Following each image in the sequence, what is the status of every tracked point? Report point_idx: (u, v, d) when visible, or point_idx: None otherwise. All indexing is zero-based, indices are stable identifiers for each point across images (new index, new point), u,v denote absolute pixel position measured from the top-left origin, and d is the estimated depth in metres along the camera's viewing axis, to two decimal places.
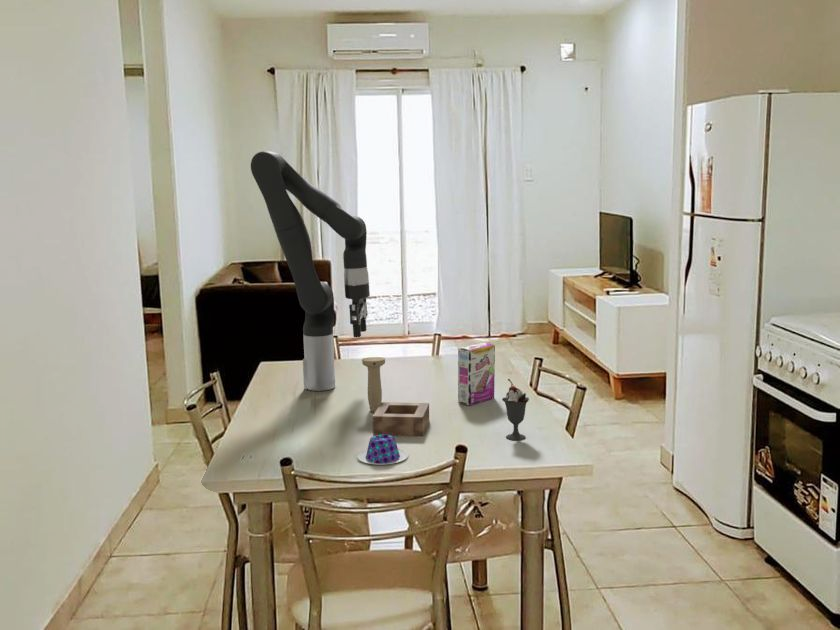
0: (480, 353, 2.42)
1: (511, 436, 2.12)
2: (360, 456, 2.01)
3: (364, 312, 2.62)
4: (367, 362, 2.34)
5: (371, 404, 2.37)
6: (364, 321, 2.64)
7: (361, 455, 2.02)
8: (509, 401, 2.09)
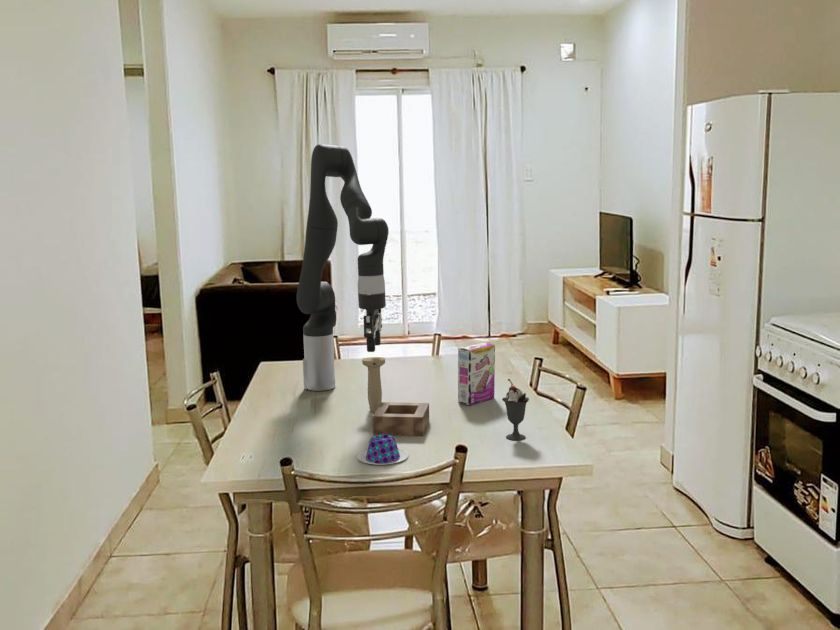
0: (480, 353, 2.42)
1: (511, 436, 2.12)
2: (360, 456, 2.01)
3: (379, 324, 2.37)
4: (367, 362, 2.34)
5: (371, 404, 2.37)
6: (378, 334, 2.39)
7: (361, 455, 2.02)
8: (509, 401, 2.09)
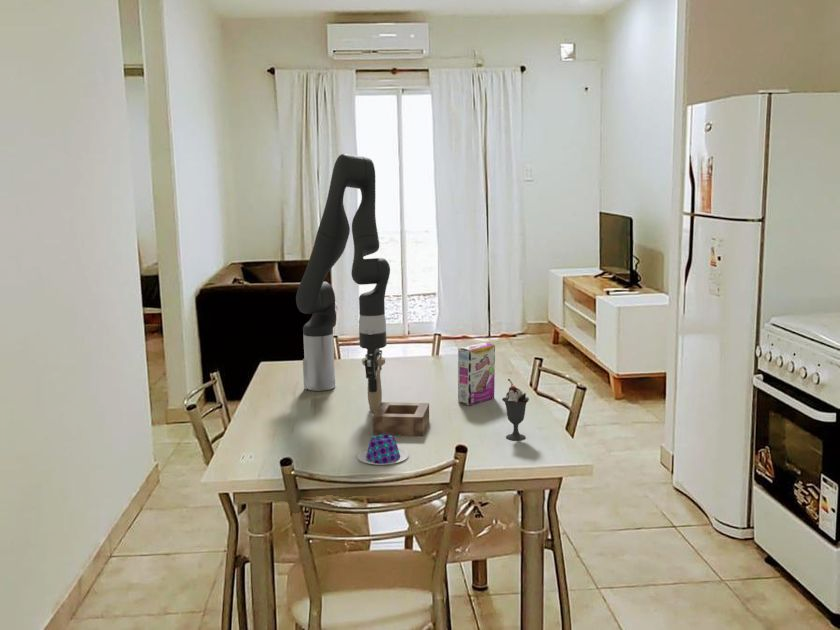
0: (480, 353, 2.42)
1: (511, 436, 2.12)
2: (360, 456, 2.01)
3: None
4: None
5: (371, 404, 2.37)
6: None
7: (362, 454, 2.02)
8: (509, 401, 2.09)
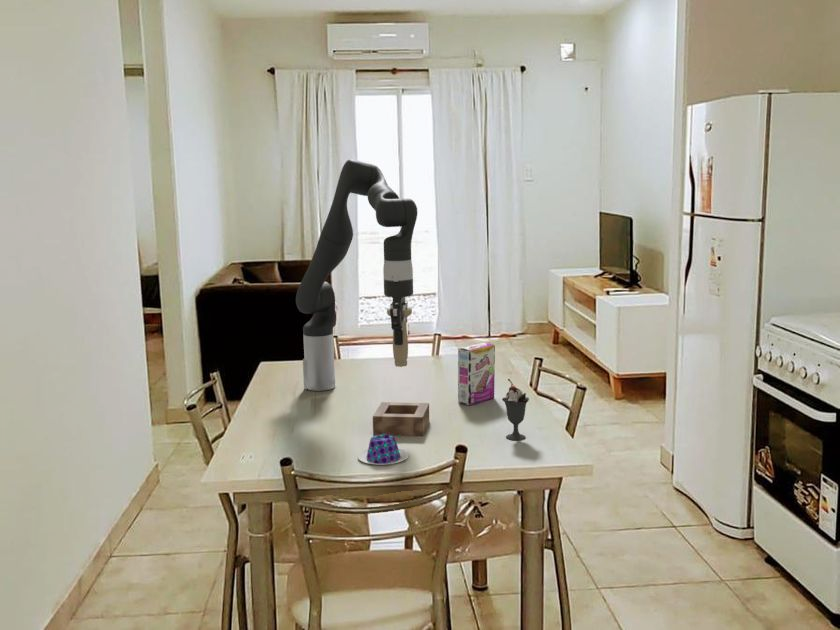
0: (480, 353, 2.42)
1: (511, 436, 2.12)
2: (361, 455, 2.01)
3: None
4: None
5: (397, 358, 2.18)
6: None
7: (362, 454, 2.02)
8: (509, 401, 2.09)
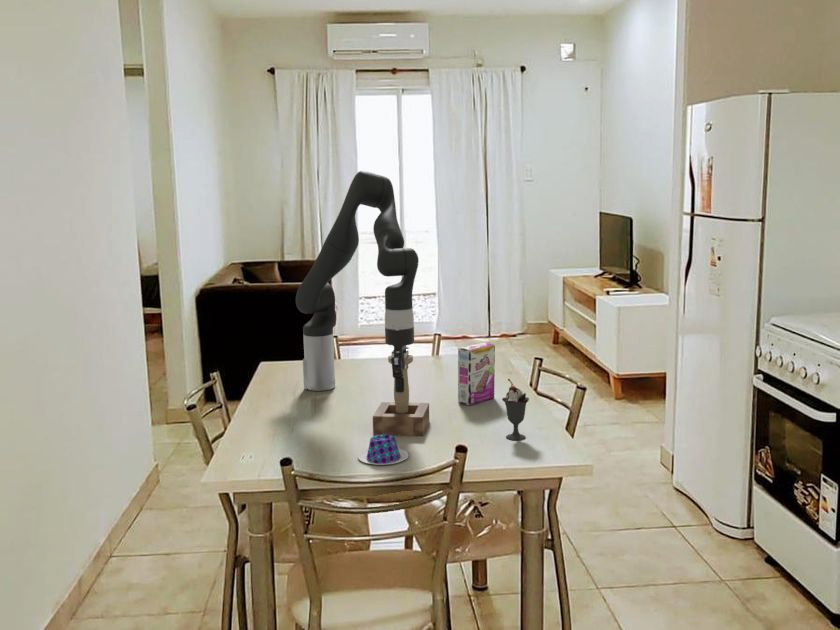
0: (480, 353, 2.42)
1: (511, 436, 2.12)
2: (361, 455, 2.02)
3: None
4: None
5: (398, 405, 2.20)
6: None
7: (363, 454, 2.02)
8: (509, 401, 2.09)
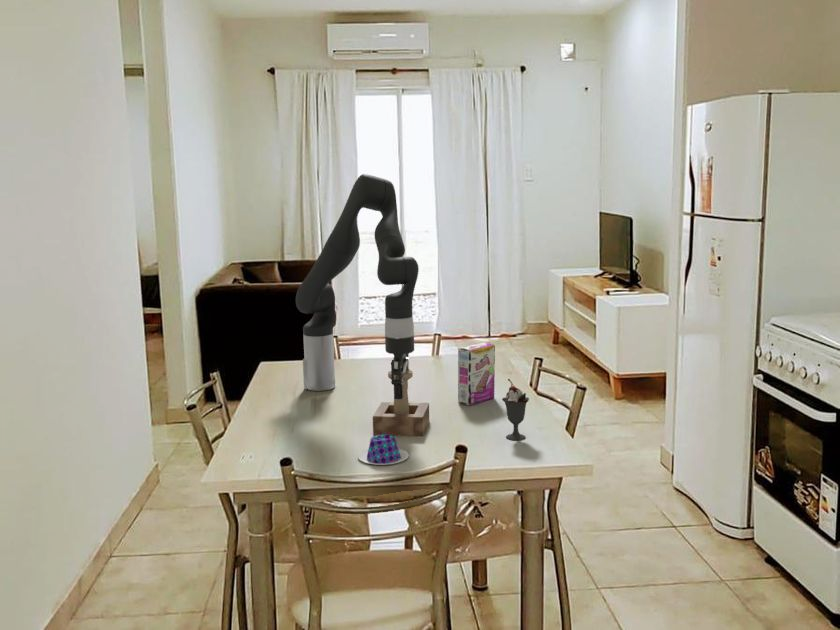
0: (480, 353, 2.42)
1: (511, 436, 2.12)
2: (361, 455, 2.02)
3: (406, 368, 2.23)
4: None
5: None
6: None
7: (363, 454, 2.03)
8: (509, 401, 2.09)
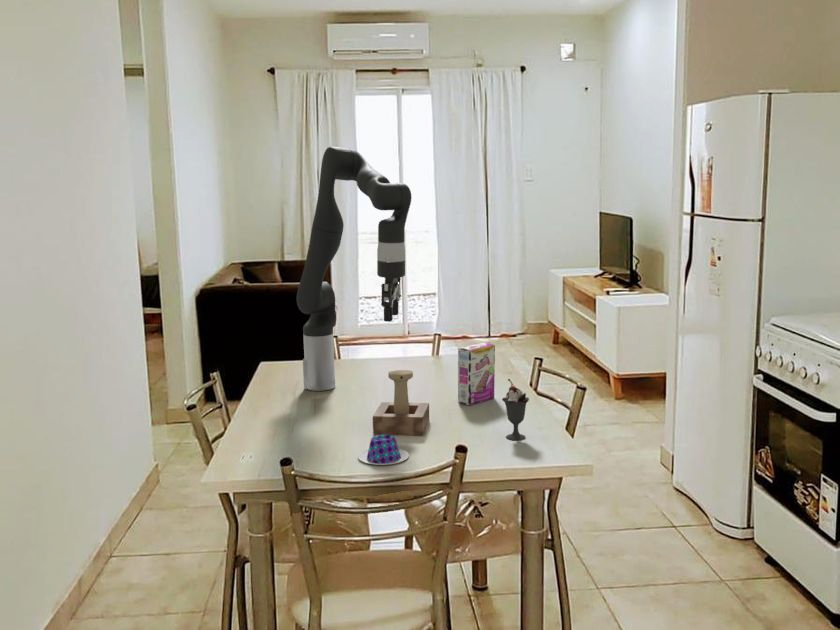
0: (480, 353, 2.42)
1: (511, 436, 2.12)
2: (362, 454, 2.02)
3: (397, 293, 2.30)
4: (394, 376, 2.18)
5: None
6: (396, 303, 2.32)
7: (364, 453, 2.03)
8: (509, 401, 2.09)
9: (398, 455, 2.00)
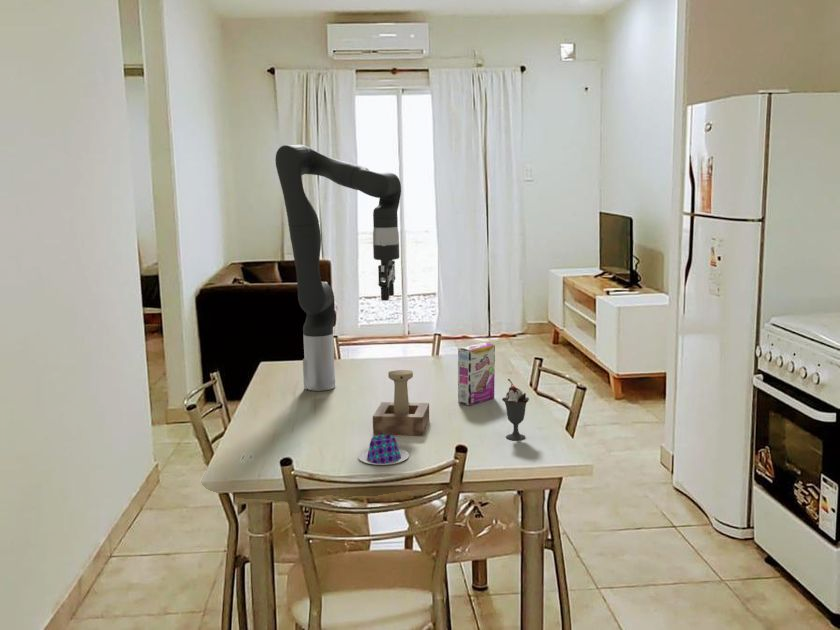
0: (480, 353, 2.42)
1: (511, 436, 2.12)
2: (362, 454, 2.02)
3: (392, 275, 2.48)
4: (394, 376, 2.18)
5: None
6: (392, 285, 2.50)
7: (364, 453, 2.03)
8: (509, 401, 2.09)
9: (398, 455, 1.99)
